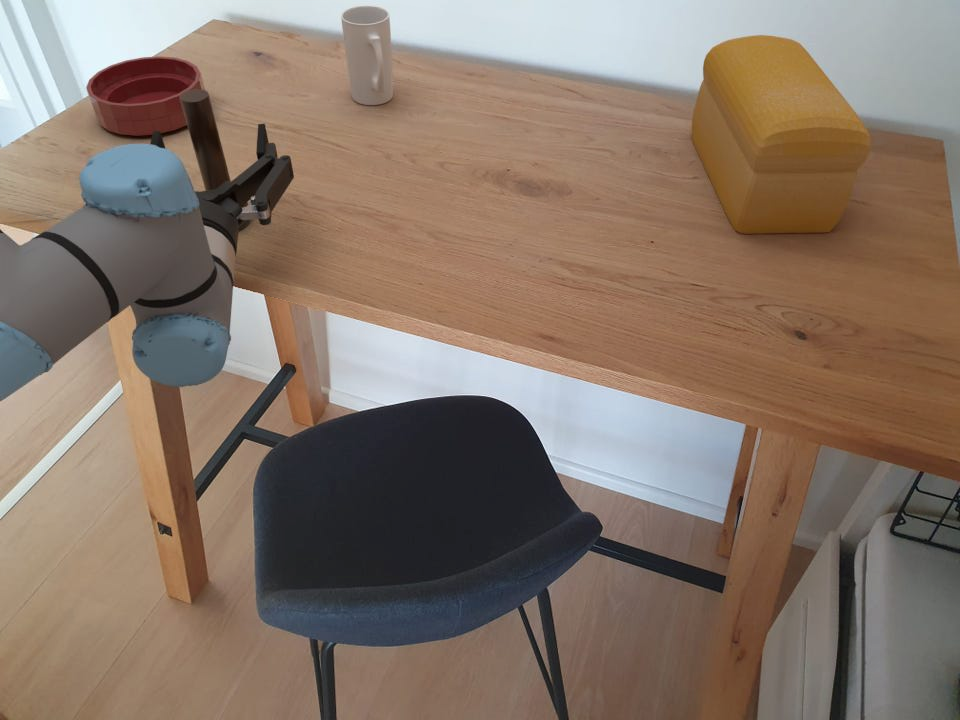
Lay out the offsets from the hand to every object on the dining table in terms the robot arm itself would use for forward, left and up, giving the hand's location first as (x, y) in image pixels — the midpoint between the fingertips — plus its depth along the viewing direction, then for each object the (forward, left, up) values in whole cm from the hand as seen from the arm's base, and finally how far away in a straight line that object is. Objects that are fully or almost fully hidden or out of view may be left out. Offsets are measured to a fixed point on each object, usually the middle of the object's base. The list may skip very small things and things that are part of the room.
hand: (212, 138), depth 89 cm
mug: (+20, +24, -9) cm, 33 cm away
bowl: (-12, +25, -9) cm, 29 cm away
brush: (0, -4, -9) cm, 10 cm away
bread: (+68, -5, -9) cm, 68 cm away
